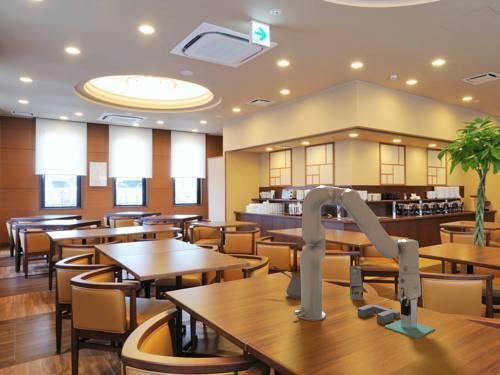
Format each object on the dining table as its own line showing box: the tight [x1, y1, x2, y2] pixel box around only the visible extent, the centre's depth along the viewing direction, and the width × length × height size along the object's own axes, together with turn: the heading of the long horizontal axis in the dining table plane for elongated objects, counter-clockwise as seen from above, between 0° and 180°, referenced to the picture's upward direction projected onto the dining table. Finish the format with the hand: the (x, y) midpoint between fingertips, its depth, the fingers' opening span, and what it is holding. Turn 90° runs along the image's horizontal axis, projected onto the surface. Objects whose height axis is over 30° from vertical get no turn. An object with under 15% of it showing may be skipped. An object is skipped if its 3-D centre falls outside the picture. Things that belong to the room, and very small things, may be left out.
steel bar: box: [400, 296, 418, 330], centre depth 147 cm, size 4×4×12 cm
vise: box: [357, 304, 401, 325], centre depth 162 cm, size 16×13×4 cm
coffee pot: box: [271, 265, 301, 300], centre depth 194 cm, size 21×12×15 cm, turn 55°
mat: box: [383, 319, 436, 340], centre depth 147 cm, size 14×14×1 cm
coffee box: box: [349, 265, 364, 301], centre depth 190 cm, size 9×6×16 cm
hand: (409, 312), depth 147 cm, fingers open, 5 cm apart
